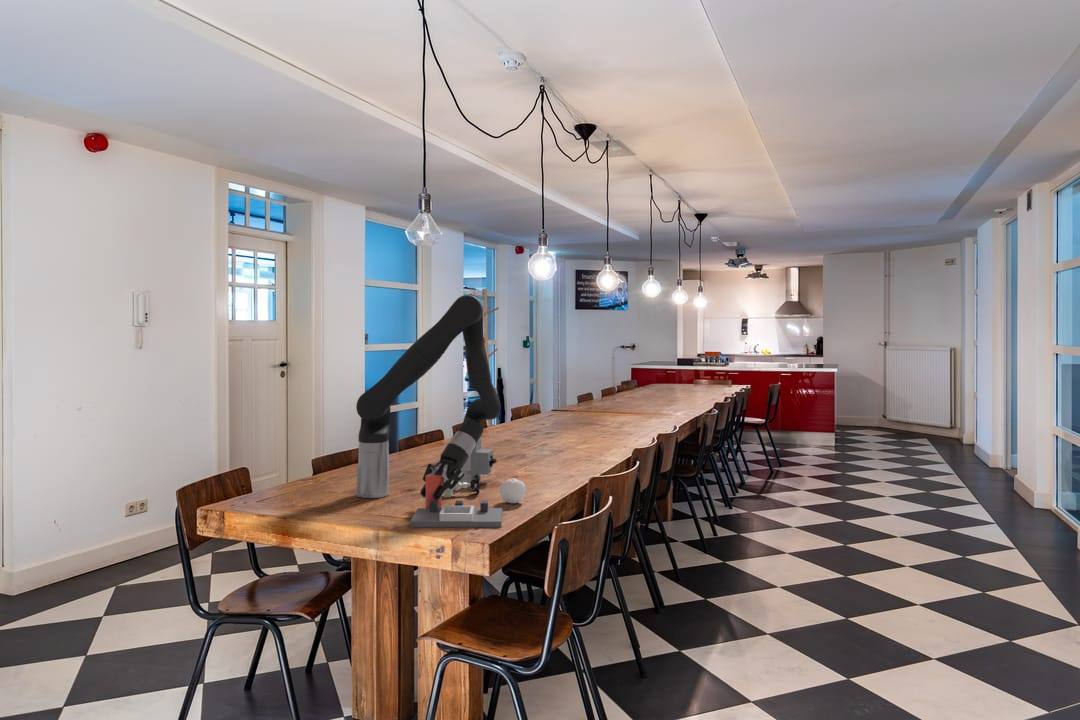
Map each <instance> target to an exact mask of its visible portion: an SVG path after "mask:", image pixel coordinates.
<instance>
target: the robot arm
mask: <svg viewBox="0 0 1080 720" xmlns="http://www.w3.org/2000/svg"><path fill="white" fill-rule="evenodd" d="M483 319H484V306H483V304H482V302H481V301H480V300H479V299H478V298H477V297H475V296H474V295H471V294H465V295H461V296H459V297H458V298H456V299H455V300H454V302H453V303H452V304H451V306H450V307H449V308H448V309H447V311H446V312H445V313H444V314H443V316H442V317H441V318H440V319H439V320H438V321H437V322H436V323H435V324H434V325H433V326H432V327H430V328H429V329H428V330H427V331H426V332H425V333H423V335H421V336H420V337H419V338H418V339H417V340H416V341H415V342H414V343H412V344H411V345H410V347H409V348H408V349H407V350H406V351H405V352H404V353H402V355H401V356H400V357H398V359H397V361H395V362H394V364H392V366H391V368H390V369H389V370H388V371H387V373H386V374H385V375H383V377H381V379H380V380H378V381H377V382H376V383H375V384H374V385H372V386H371V387H370V388H369V389H367V390H366V391H365V392H363V393H362V394H360V396H359V397H358V398H357V401H356V406H355V407H356V408H355V409H356V413H357V414H358V416H359V417H360V428H359V431H358V465H357V466H356V497H357V498H362V499H378V498H379V499H380V498H384V497H387V496H388V495H389V474H390V473H389V471H390V470H389V469H390V468H389V452H390V451H389V448H390V445H389V438H390V436H389V435H390V429H391V404H392V403H393V402H394V401H395V400H396V399H397V398H398V396H400V395H401V393H403V392H404V391H405V390H406V389H408V388H409V387H411V386H412V385H413V384H415V383H416V382H417V381H419V380H420V379H421V378H423V376H425V374H426V373H428V372H429V371H430V370H431V369H432V368H433V366H434V365H436V363H438V362H439V360H440V359H441V357H442V356H443V355H444V354H445V352H446V351H447V350H448V348H449V346H450V345H451V343H453V341H454V340H455V339H456V338H457V337H458V336H459V335H460V334H461V333H462V335H463V339H464V347H465V349H464V350H465V362H466V363H465V364H466V370H467V371H466V372H467V377H468V383H469V387H470V389H471V390H472V391H473V392H477V394H478V396H479V397H478V398H475V399H474V400H472V402H471V403H470V404H469V405H468V407H467V409H466V411H465V415H464V418H463V422H462V423H461V424H460V425H459V427H458V429H457V430H456V432H455V434H454V435H453V436H452V437H451V439H450V440H449V441H448V443H447V445H446V446H445V448H444V449H443V450H442V452H441V454H440V460H439V461H437V463H436V464H432V463H428V465H427V467H426V470H425V471H424V474H423V476H422V480H423V482H424V484H423V487H422V488H421V490H420V492H419V493H420V496H422V498H425V494H426V475H429V474H440V475H442V477H441V478H442V480H441V483H440V486H438V487H437V489H436V491H435V492H434V494H433V498H434V499H435V500H438V499H439V498H440V497H441V496H442V494H443V493H444V491H445V490H447V489H453V487H454V486H455V485H456V484H457V483H458V482H459V481H460V480H461V479H462V478H463V476H464V473H463V472H462V470H461V469H462V467H463V466H464V464H465V463H466V461H467V459H468V458H469V456H470V454H471V453H472V451H473V449H474V447H475V445H476V443H477V442H478V440H479V438H481V437H482V435H483V433H484V426H483V425H482V423H483V422H484V421H486V420H487V421H489V420H495V419H497V418H498V417H499V416H500V413H501V407H502V406H501V401H500V398H499V396H498V393H497V391H496V388H495V387H494V384H493V382H492V375H491V370H490V365H489V360H488V355H487V350H486V346H485V345H486V344H485V337H484V324H483V323H484V322H483V321H484V320H483ZM453 480H454V482H453V483H452V484H451V482H452V481H453Z"/></svg>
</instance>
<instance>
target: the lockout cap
mask: <svg viewBox="0 0 1080 720" xmlns="http://www.w3.org/2000/svg"><path fill="white" fill-rule="evenodd" d="M441 477H442V475H440V474H429V475H426V494H425V497H424V499H425V501H424V502H425V503H424V504H425V505H424V508H430V502H431V501H438V508H442V500H443V499H442V496H441V497H440V498H439V499H438V500H435V499H434V498H433V494H434V492H435V491H436V489H437V487H438V486H440V483H441V480H442V478H441Z"/></svg>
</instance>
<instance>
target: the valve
mask: <svg viewBox="0 0 1080 720" xmlns="http://www.w3.org/2000/svg"><path fill="white" fill-rule="evenodd" d="M478 477H479V475H478V474H475V476H474V478H475V480H472V481H471V482H470V483H468V484H467V482H463V483H462V484H461V482H458V483H457V484H456V485H455V486H454V487H453V489H447V490H445V491H444V493H443V494H442V496H444V497H443V498H452V497H453V496H454V490H455V491H460V489H467V488H470V489H471V491H472V492H474V495H475V496H477V495H479V494H480V488H481V485H480V482H481V481H480V479H479V478H478ZM452 483H453V481H452V482H451V484H452ZM451 496H452V497H451Z"/></svg>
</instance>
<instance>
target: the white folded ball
mask: <svg viewBox="0 0 1080 720" xmlns="http://www.w3.org/2000/svg"><path fill="white" fill-rule="evenodd" d="M526 491H527V487H526V485H525V483H524V482H523V481H522V480H520V479H517V478H514V477H511V478H510V479H507V480H505V481H504V482H503V483H501V484H500V486H499V494H500V497H501V499H502V500H503V501H504V502H506V503H509V504H517V503H520V502H521V501H523V499H524V497H525V495H526Z"/></svg>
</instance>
